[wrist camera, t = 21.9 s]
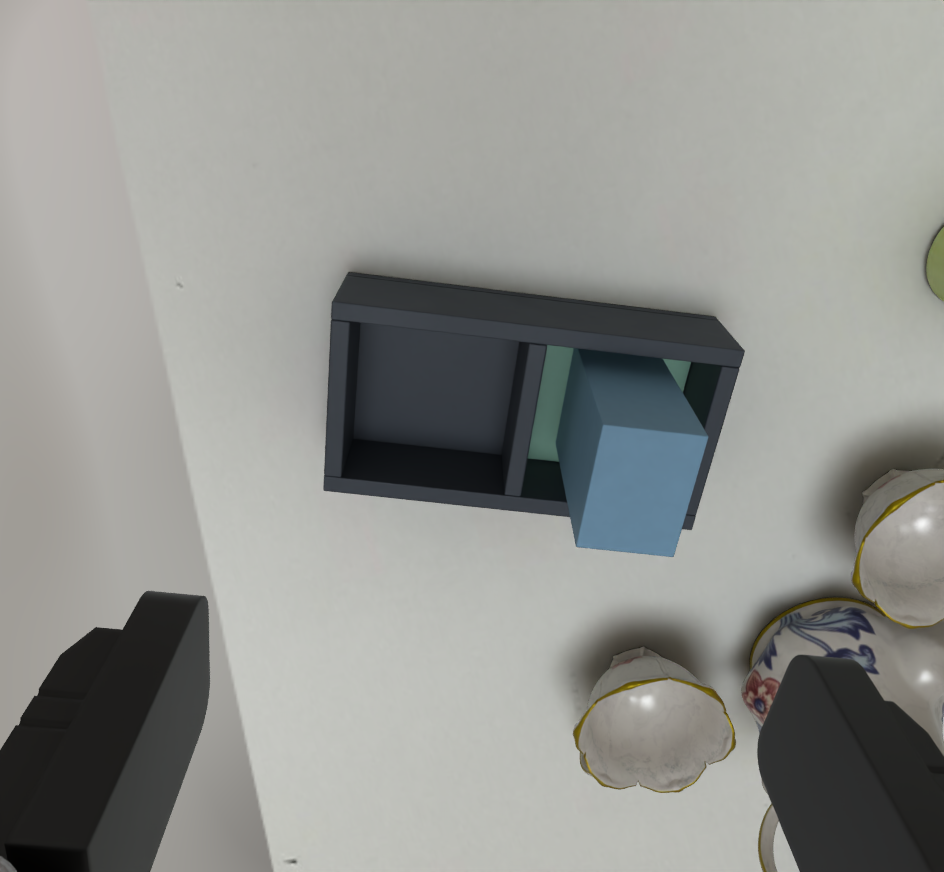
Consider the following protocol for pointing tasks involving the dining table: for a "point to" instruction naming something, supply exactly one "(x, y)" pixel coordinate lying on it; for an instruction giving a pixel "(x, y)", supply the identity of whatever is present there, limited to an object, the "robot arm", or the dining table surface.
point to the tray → (489, 388)
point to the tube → (936, 265)
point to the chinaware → (790, 655)
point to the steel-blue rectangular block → (627, 452)
